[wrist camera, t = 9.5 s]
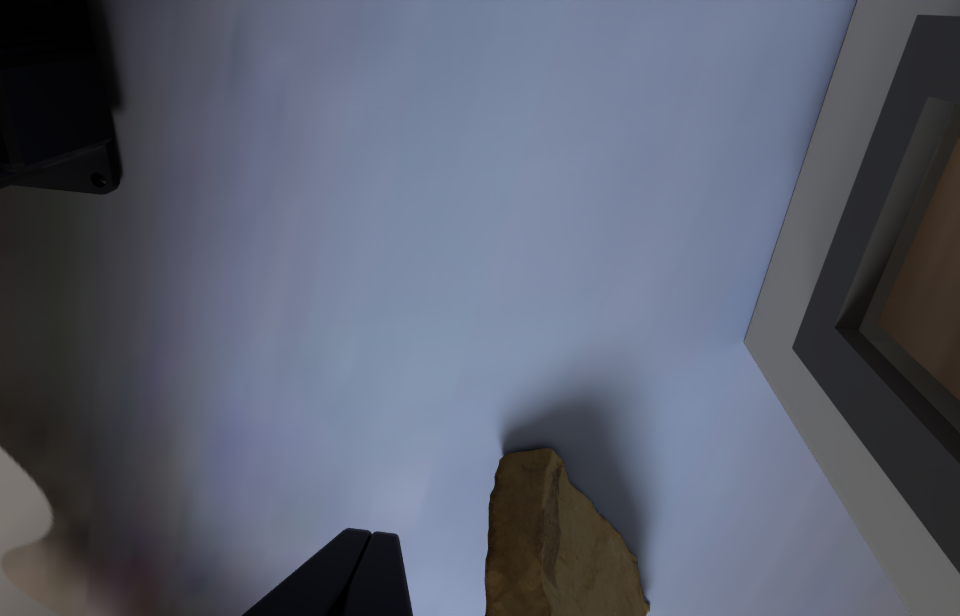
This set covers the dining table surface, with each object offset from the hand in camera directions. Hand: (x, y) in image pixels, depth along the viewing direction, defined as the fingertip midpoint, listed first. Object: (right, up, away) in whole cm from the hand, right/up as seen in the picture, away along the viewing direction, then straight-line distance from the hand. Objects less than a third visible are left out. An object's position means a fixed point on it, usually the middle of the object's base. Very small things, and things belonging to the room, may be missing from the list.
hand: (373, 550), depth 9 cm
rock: (+6, -6, +18) cm, 20 cm away
